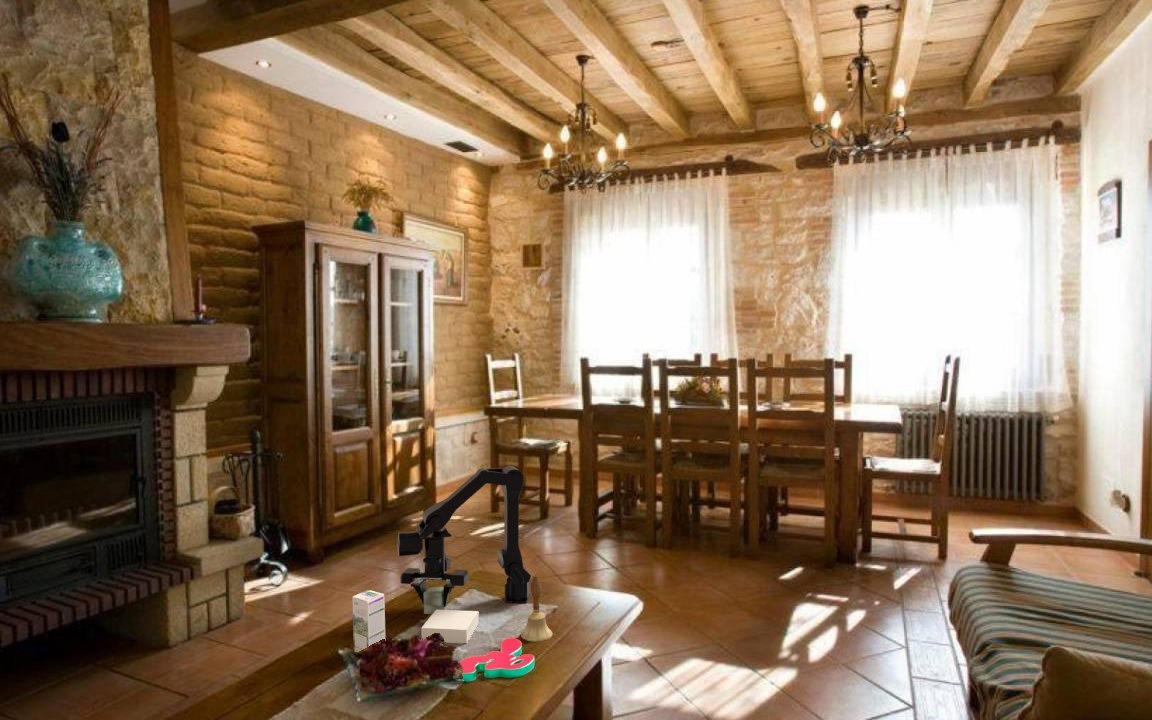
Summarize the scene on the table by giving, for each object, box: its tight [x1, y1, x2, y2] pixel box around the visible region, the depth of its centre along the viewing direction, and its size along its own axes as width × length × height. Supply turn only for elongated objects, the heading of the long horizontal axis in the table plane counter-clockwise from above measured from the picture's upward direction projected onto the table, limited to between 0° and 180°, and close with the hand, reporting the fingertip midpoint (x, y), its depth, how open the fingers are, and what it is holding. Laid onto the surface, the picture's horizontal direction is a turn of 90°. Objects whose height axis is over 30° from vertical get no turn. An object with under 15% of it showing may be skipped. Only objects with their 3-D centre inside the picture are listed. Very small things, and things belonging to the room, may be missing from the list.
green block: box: [423, 586, 447, 615], centre depth 199 cm, size 5×5×6 cm
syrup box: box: [352, 589, 386, 653], centre depth 173 cm, size 6×6×14 cm
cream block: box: [420, 609, 480, 644], centre depth 184 cm, size 12×12×4 cm
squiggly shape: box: [459, 637, 535, 683], centre depth 166 cm, size 20×16×2 cm
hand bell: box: [520, 574, 553, 643], centre depth 182 cm, size 8×8×16 cm
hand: (435, 606), depth 199 cm, fingers open, 6 cm apart
